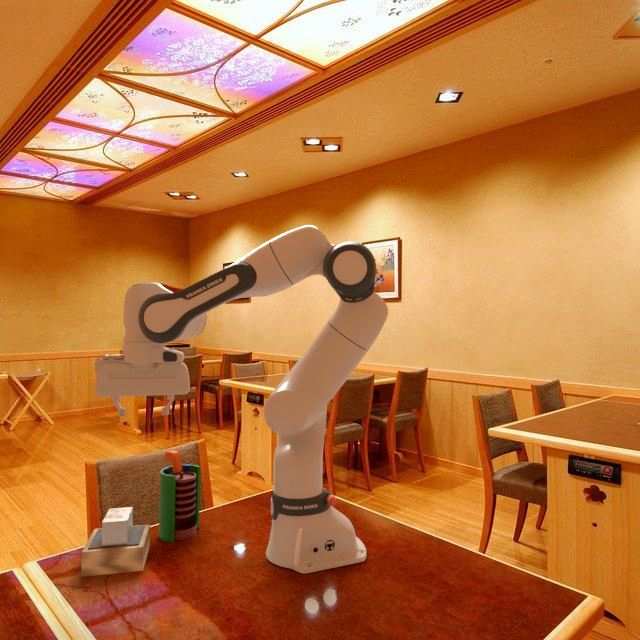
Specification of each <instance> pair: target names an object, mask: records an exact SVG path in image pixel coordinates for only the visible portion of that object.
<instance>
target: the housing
mask: <svg viewBox="0 0 640 640" xmlns="http://www.w3.org/2000/svg"><path fill="white" fill-rule="evenodd" d="M133 514H134V507H133V506H127V507H115V508H114V507H113V508H109V509H108V510H107V512H106V514H105V516H104V517H103V520H102V521H101V528H102V546H112V545H124V544H127V543H128V541H129V538H130V535H131V532H132V530H133V526H134V525H133V524H134V522H133V521H134V519H133V518H134V515H133Z"/></svg>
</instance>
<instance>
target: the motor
mask: <svg viewBox="0 0 640 640" xmlns="http://www.w3.org/2000/svg"><path fill="white" fill-rule="evenodd" d="M164 456H165V457H164V461H165V462H169V461H170V462H171V463H172V465H170V466H169V465H168V466H165V467H163V468H162V469H160V471H159V506H158V508H159V510H158V511H159V513H158V538H159V539H160V540H161V541H163V542H167V543H174V542H175V541H183V540H187V539H191V538H193V537H194V536H196V535H197V529H199V528H200V504H201V503H200V499H201V498H200V496H201V494H200V493H201V466H199V465H196V464H189V463H188V464H186V463H182V459H181V456H180V453H179V451H177V450H168V451H166V452H165V453H164Z"/></svg>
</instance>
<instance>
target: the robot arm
mask: <svg viewBox="0 0 640 640" xmlns="http://www.w3.org/2000/svg"><path fill="white" fill-rule="evenodd" d="M376 274H377V263H376V258H375V256H374V254H373V253H372V252H371V250H370V248H368V247H367V246H365V245H364V244H362V243H360V242H357V241H344V242H342V243H338V244H333V243H331V242H330V241H329V240H328V238H327V237H326V235H325V234H324V232H323V231H322V230H321V229H320V228H318V227H317V226H315V225H312V224H306V225H303V226H299V227H297V228H294V229H291V230H288V231H286V232H284V233H281V234H279V235H277V236H275V237H273V238H271V239H270V240H268V241H266V242H264V243H263V244H261V245H259V246H258V247H256V248H255V249H253V250H251V251H250V252H247V254H245V255H244V256H242V257H241V258H239V259H237V260H236V261H234V262H233V263H231V264H229V265H227V267H225V268H223V269H222V270H221V269H220V270H219V271H217V272H215V273H213V274H211V275H209V276H207V277H205V278H203V279H201V280H199V281H197V282H195V283H193V284H191V285H189V286H187V287H185V288H183V289H181V290H178V291H175V292H173V291H171V290H169V289H167V288H166V287H164V286H163V285H162V284H161V283H160V282H156V281H152V282H151V281H150V282H141V283H135V284H133V285H132V286H129V287H128V288H127V290H126V292H125V296H124V301H123V302H124V303H123V320H122V321H123V326H124V331H125V332H124V337H123V345H122V346H123V347H122V350H123V354H110V355H109V354H103V355H102V356H100V357H98V358H97V359H95V362H94V370H95V371H94V372H95V373H96V379H95V390H94V391H95V394H96V395H97V397H99V398H107V397H108V398H109V397H111V398H112V403H113V405H114V406H115V408H116V410H117V417H120V418H121V417H126V415H127V412H126V411H127V407H123V406H122V404H121V403H120V401H121V399H122V397H141V396H142V397H144V396H145V397H147V396H166V397H167V400H168V402H167V404H166V405H165V406H164V405H163V406H162V407H161V411H162V412H161V415H162V416H169V415H170V407H171V405H172V404H173V402H174V400H175V396H179V395H180V396H181V395H183V396H185V395H187V394H188V393H189V392H190V390H191V383H190V373H189V369H188V366H187V364H186V363H185V362H184V360H185V353H184V352H183V351H181V350H177V349H174V348H171V347H167V346H166V345H165V344H167V343H170V342H176V341H185V340H191V339H193V338H195V337H197V336H199V335H200V334H201V333H202V332H203V331H204V329H205V327H206V325H207V313H208V312H210V311H212V310H214V309H216V308H218V307H220V306H222V305H224V304H226V303H228V302H230V301H231V302H232V301H234V300H237V299H241V298H242V299H244V298H256V297H257V298H258V297H261V298H262V297H269V296H270V295H274V294H277V293H280V292H282V291H285V290H287V289H288V288H291V287H293V286H294V285H296V284H298V283H300V282H302V281H304V280H305V279H307V278H310V277H311V276H317V275H318V276H322V277H324V278H325V279H326V280H327V282H328V284H329V285H330V287H331V288H332V289H333V290H334V291H335V293H337V295H338V296H339V298H340V300H339V303H338V305H337V307H336V309H335V311H334V312H333V313H332V315H331V316H330V317H329V319H328V320H327V322H326V323H324V326H323V328H322V329H321V330H320V331H319V333H318V335H317V336H316V337H315V339H314V340H313V341H312V343H311V344H310V346H309V347H308V349H307V350H306V351H305V352H304V353H303V355H302V356H300V358H299V359H298V360H297V361H296V363H295V364H294V365H293V366H292V368H291V369H289V371H288V372H287V374H285V376H284V377H283V378H282V380H280V382H279V384H278V385H277V386H276V387H275V388H274V390H273V391H272V392H271V394H270V395H269V396H268V398H267V400H266V402H265V403H264V407H263V418H264V421H265V422H266V425H267V426H268V427H269V429H270V430H271V431H272V432H273V433H275V434H277V435H278V436H277V442H276V446H275V450H274V454H273V489H272V490H271V497H270V514H271V519H272V520H271V528H270V535H269V541H268V545H267V548H266V551H265V557H266V559H267V560H268V561H269V562H270V563H272V564H274V565H276V566H279V567H283V568H286V569H291V570H294V571H295V572H297V573H299V574H310V573H316V572H319V571H324V570H330V569H334V568H339V567H344V566H349V565H355V564H358V563H364V562H365V561H366V559H367V556H368V554H367V548H366V546H365V544H364V543H363V541H362V540H361V539H360V538H359V537H357V536H356V531H355V528H354V525H353V524H352V522H351V520H350V519H349V518H348V517H347V516H346V515H345V514H343V513H342V512H340V511H339V510H337V509H336V508H335V506H336V505H337V502H338V499H337V498H336V497H335V495H334V494H331V492H330V491H328V489H326V488H325V487H323V471H324V470H323V465H324V464H323V462H324V459H323V458H324V456H323V455H324V446H325V439H326V438H325V437H326V427H327V415H328V414H327V413H328V404H329V403H330V402H331V401H332V399H333V398H334V397H335V396H336V394H337V393H338V392H339V390H340V389H341V388H342V387H343V385H344V384H345V383H346V382H347V380H348V379H349V377H350V376H351V375H352V374H353V373H354V371H355V369H356V368H358V365H359V364H360V363H361V361H362V359H364V357H365V356H366V354H367V353H368V351H369V350H370V348H371V347H372V346H373V344H374V343H375V341H376V340H377V338H378V336H379V334H380V333H381V331H382V329H383V327H384V325H385V324H386V322H387V321H386V320H387V319H388V316H389V308H388V305H387V302H386V301H385V300H384V299H383V297H382V296H380V295H379V294H378V293H376V291H375V286H376V285H375V284H376V283H375V282H376V277H377V276H376Z"/></svg>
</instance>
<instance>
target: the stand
mask: <svg viewBox="0 0 640 640" xmlns="http://www.w3.org/2000/svg"><path fill="white" fill-rule="evenodd" d="M150 545H151V524H140V525H133V530H132V532H131V535H130V538H129V541H128V543H127V544H124V545H112V546H102V527H99V528H94V529H93V531H92V532H91V534H90V537H89V538H88V539H87V541H86V544H85V545H84V547H83V549H82V550H81V559H80V560H81V565H80V566H81V568H80V569H81V570H80V571H81V572H80V573H81V577H82V578H84V577H93V576H104V575H114V574H123V573H134V572H136V573H137V572H143V571H144V568H145V565H146V561H147V558H148V553H149V551H150V548H151V547H150Z"/></svg>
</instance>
